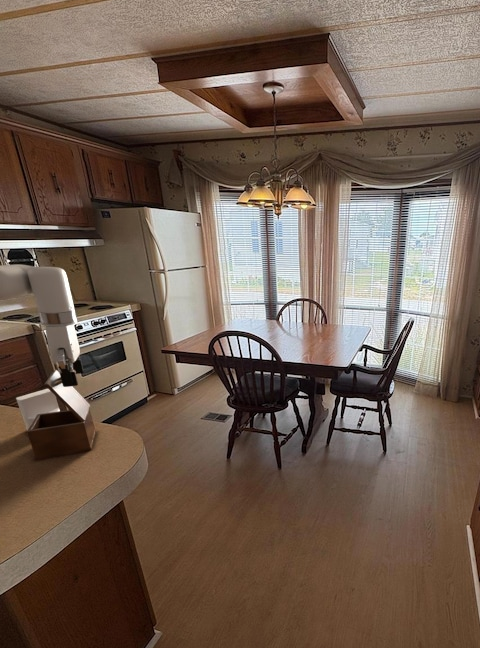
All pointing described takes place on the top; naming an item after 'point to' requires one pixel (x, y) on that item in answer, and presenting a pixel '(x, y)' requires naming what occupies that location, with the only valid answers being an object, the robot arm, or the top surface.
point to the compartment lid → (68, 396)
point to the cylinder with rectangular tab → (37, 405)
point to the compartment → (60, 434)
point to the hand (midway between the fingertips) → (74, 379)
